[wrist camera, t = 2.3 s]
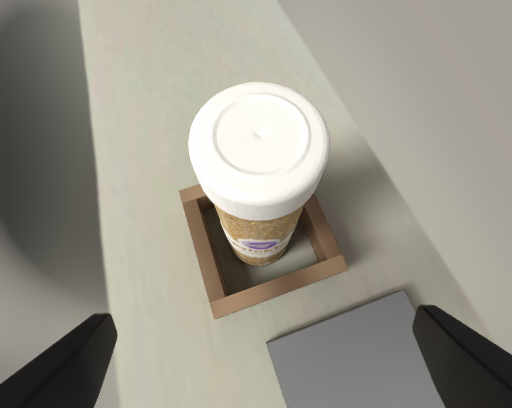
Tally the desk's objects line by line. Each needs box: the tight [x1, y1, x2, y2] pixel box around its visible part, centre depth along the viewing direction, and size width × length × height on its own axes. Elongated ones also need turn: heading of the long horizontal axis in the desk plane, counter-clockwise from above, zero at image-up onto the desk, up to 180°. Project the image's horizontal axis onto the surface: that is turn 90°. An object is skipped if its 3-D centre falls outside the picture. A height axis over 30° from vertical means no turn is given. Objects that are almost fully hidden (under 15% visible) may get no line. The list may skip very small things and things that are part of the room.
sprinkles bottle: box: [188, 82, 330, 266], centre depth 15 cm, size 5×5×13 cm
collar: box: [179, 184, 349, 319], centre depth 20 cm, size 9×9×2 cm
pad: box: [266, 290, 445, 408], centre depth 17 cm, size 10×8×1 cm
